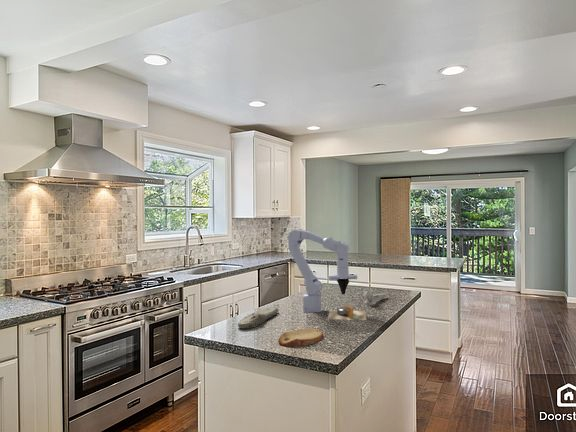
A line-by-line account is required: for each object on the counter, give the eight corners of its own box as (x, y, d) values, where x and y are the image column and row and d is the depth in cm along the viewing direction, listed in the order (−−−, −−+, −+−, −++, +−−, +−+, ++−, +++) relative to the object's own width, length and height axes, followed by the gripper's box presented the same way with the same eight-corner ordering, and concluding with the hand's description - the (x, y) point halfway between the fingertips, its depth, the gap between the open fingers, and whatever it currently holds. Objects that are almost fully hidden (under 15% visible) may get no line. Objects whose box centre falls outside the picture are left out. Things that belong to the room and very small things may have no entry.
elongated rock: (283, 315, 200) (266, 315, 204) (283, 305, 200) (265, 304, 204) (252, 330, 168) (232, 329, 171) (252, 318, 168) (232, 317, 172)
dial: (334, 312, 194) (334, 302, 194) (350, 311, 195) (349, 301, 195) (343, 318, 181) (343, 308, 181) (359, 317, 183) (359, 307, 183)
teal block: (353, 318, 182) (353, 318, 182) (355, 318, 182) (355, 317, 182) (355, 319, 180) (355, 319, 180) (358, 319, 180) (358, 318, 180)
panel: (327, 321, 182) (327, 318, 182) (329, 311, 200) (329, 309, 200) (366, 322, 179) (366, 320, 179) (365, 312, 197) (365, 310, 197)
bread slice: (322, 333, 164) (322, 324, 164) (324, 348, 146) (324, 338, 146) (280, 333, 165) (280, 324, 165) (277, 348, 147) (277, 338, 147)
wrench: (386, 303, 231) (365, 307, 207) (383, 302, 232) (362, 306, 208) (387, 289, 231) (365, 292, 207) (384, 289, 232) (362, 291, 208)
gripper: (353, 265, 201) (354, 291, 201) (326, 266, 199) (327, 293, 199) (358, 267, 194) (358, 294, 194) (330, 268, 192) (330, 295, 192)
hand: (343, 294), depth 196 cm, fingers closed
